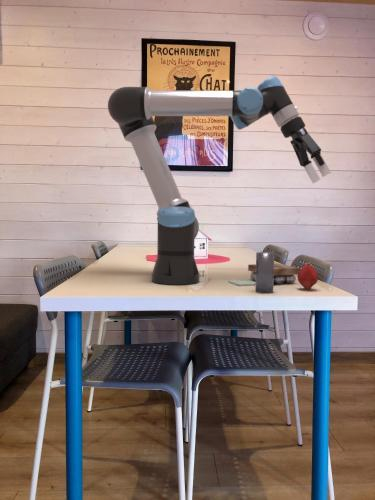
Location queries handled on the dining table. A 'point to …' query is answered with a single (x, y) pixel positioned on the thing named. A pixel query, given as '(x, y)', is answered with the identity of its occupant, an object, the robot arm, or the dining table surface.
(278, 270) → the slab
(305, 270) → the red strawberry
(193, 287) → the dining table surface
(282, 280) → the roller track
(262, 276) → the steel roller
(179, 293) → the dining table surface
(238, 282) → the stop pad
